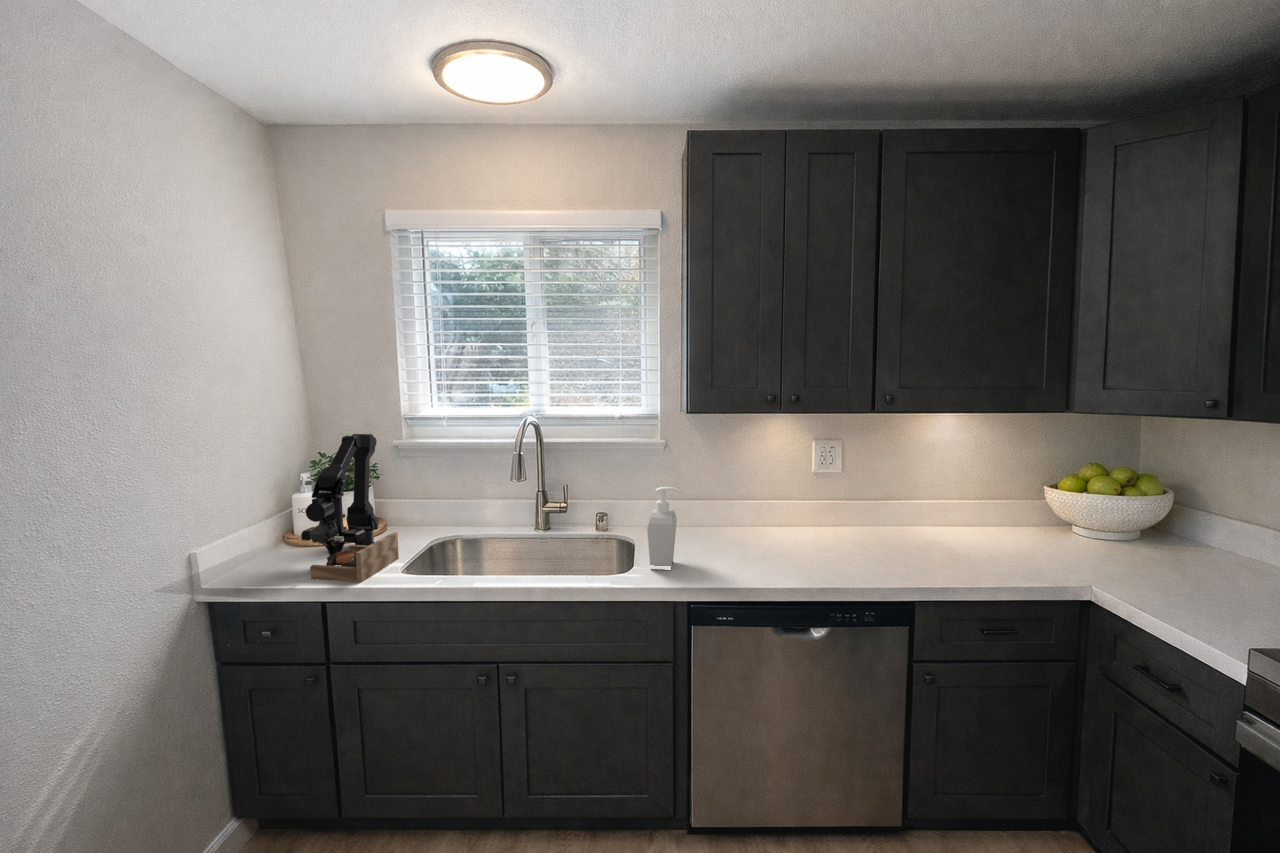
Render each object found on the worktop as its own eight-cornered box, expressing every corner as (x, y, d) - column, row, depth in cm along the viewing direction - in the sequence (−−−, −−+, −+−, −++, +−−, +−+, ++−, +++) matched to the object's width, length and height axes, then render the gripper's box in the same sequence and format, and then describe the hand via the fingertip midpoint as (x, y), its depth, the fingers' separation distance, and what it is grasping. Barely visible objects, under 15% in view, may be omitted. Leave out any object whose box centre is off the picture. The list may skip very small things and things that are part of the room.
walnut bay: (352, 556, 207) (350, 530, 206) (398, 558, 205) (397, 532, 204) (310, 579, 186) (309, 550, 185) (361, 582, 184) (360, 553, 183)
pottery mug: (327, 583, 185) (320, 556, 187) (334, 586, 193) (327, 561, 195) (369, 568, 189) (362, 542, 190) (374, 571, 197) (367, 547, 199)
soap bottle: (679, 573, 193) (680, 492, 190) (646, 571, 194) (647, 491, 191) (681, 560, 205) (682, 483, 202) (651, 558, 206) (651, 482, 203)
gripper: (287, 518, 188) (290, 568, 189) (344, 521, 185) (347, 571, 187) (311, 509, 198) (314, 556, 200) (365, 511, 196) (368, 559, 198)
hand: (335, 561), depth 196 cm, fingers closed
